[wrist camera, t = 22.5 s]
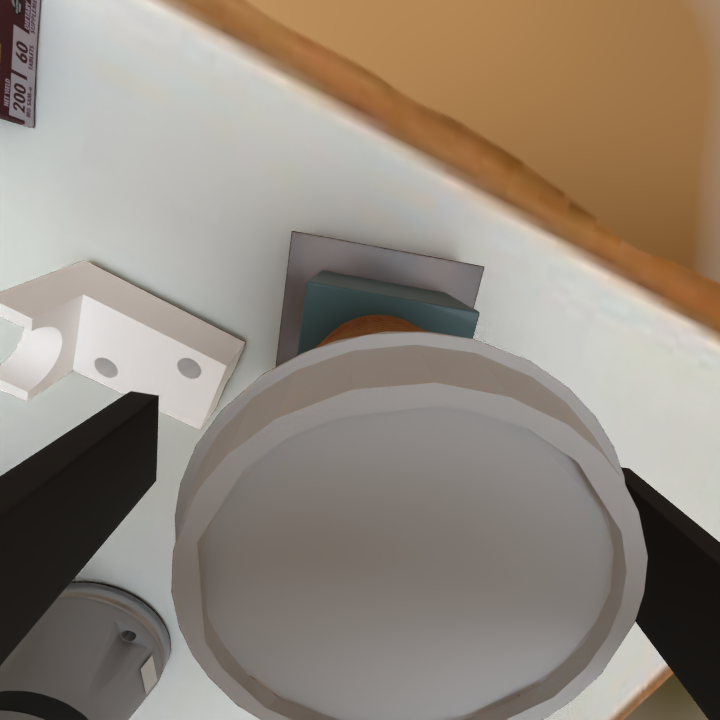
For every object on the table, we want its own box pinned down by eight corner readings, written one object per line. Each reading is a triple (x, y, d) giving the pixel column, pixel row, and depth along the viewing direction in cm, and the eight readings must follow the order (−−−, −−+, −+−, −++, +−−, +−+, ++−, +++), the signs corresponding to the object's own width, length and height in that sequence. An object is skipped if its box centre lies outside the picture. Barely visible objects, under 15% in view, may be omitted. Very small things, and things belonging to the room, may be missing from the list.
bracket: (74, 333, 32) (-13, 384, 26) (84, 260, 29) (-14, 296, 22) (219, 403, 34) (173, 467, 27) (245, 342, 30) (199, 399, 24)
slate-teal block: (303, 389, 26) (284, 439, 19) (320, 270, 24) (306, 281, 17) (418, 407, 27) (439, 463, 20) (446, 292, 24) (480, 312, 18)
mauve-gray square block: (285, 381, 32) (270, 411, 27) (304, 233, 29) (291, 230, 23) (425, 404, 33) (439, 438, 27) (460, 261, 30) (484, 266, 24)
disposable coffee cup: (346, 234, 17) (321, 218, 5) (517, 351, 18) (792, 540, 7) (241, 406, 19) (61, 660, 7) (401, 496, 20) (456, 822, 9)
